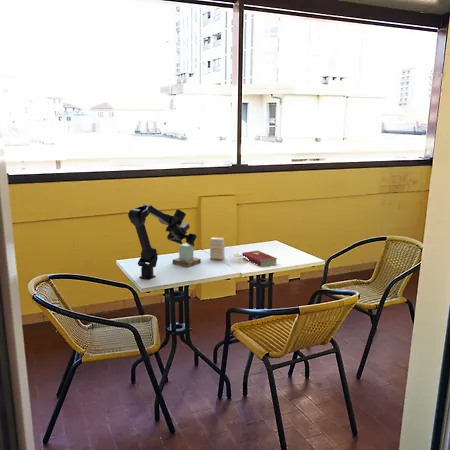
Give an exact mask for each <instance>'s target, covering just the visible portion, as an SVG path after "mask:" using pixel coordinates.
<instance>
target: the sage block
mask: <svg viewBox="0 0 450 450" xmlns="http://www.w3.org/2000/svg"><path fill="white" fill-rule="evenodd" d="M178 253H179V254H178V255H179V256H178V258H179V260H184V261H189V260H192V259H193V257H194V247H193V246H191V245H189V244H188V243H187V242H185V243H182V244H179V245H178Z"/></svg>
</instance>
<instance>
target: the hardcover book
mask: <svg viewBox="0 0 450 450" xmlns="http://www.w3.org/2000/svg"><path fill="white" fill-rule="evenodd" d="M242 255H243V256H245V257H247V258H248V259H249V261H248V262H250V261H251V263H252V262H253V263H252V264H254V263H255V265H256V264H257V266H259V267H264V266H263V265H266V266H269V265H268V264H272V265H275V264H274V263H276V264H277V260H278V258H277V257H275V256H273V255H270V254H268V253H266V252H262V251H260V250H253V251H246V252H242V254H241V256H242Z"/></svg>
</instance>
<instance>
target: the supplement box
mask: <svg viewBox="0 0 450 450" xmlns="http://www.w3.org/2000/svg"><path fill="white" fill-rule="evenodd" d="M209 248H210V251H209V254H210V260H220V261H223V260H224V259H225V257H226V256H225V238H224V237H213V236H212V237H211V238H209Z"/></svg>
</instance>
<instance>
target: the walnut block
mask: <svg viewBox="0 0 450 450" xmlns="http://www.w3.org/2000/svg"><path fill="white" fill-rule="evenodd" d="M201 259H202V258H199V257H194V256H193V259H192V260H189V261H184V260H179V257H177V258H174V259H172V265H177V266H180V267H186V268H189V267H193V266H195V265H198V264H201V262H202V260H201Z"/></svg>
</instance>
